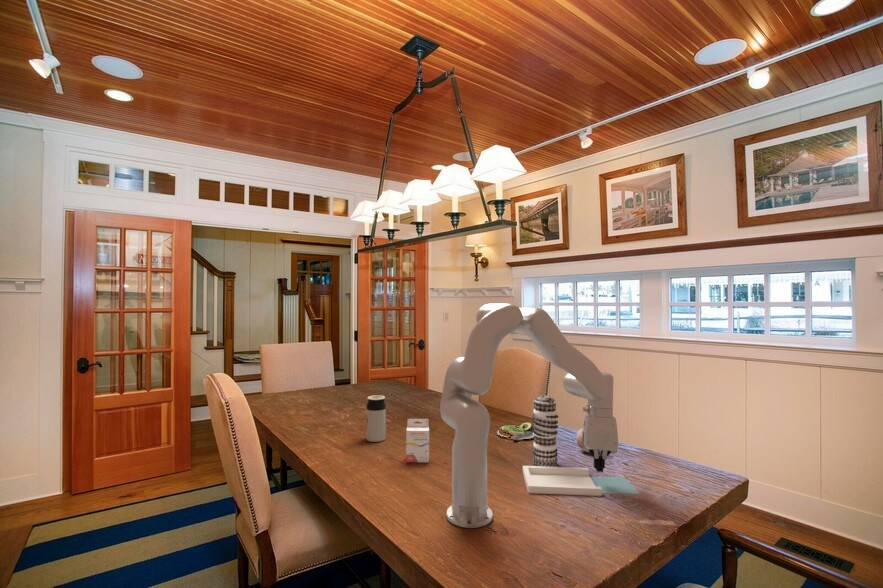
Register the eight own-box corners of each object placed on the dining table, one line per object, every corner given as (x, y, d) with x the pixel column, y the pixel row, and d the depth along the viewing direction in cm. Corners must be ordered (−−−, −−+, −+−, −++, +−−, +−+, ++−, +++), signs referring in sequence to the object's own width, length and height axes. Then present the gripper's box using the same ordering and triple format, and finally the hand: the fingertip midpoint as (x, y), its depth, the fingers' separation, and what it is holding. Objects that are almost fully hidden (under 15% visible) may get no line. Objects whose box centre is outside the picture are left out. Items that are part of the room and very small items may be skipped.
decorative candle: (558, 464, 153) (558, 394, 154) (558, 474, 144) (558, 400, 145) (532, 461, 156) (532, 393, 156) (531, 471, 147) (531, 398, 147)
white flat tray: (602, 499, 126) (601, 488, 126) (528, 496, 128) (528, 486, 128) (587, 476, 142) (587, 467, 142) (522, 474, 144) (522, 465, 144)
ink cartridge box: (405, 462, 154) (405, 422, 155) (406, 457, 159) (406, 418, 160) (429, 462, 155) (429, 422, 155) (429, 457, 160) (429, 418, 160)
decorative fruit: (598, 457, 161) (598, 430, 161) (576, 454, 163) (575, 428, 164) (598, 449, 170) (597, 423, 170) (576, 446, 172) (576, 421, 172)
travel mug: (387, 436, 184) (387, 395, 185) (383, 442, 176) (383, 399, 177) (369, 436, 185) (369, 394, 186) (364, 442, 177) (364, 398, 178)
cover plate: (639, 498, 127) (639, 493, 128) (602, 498, 128) (602, 493, 128) (624, 482, 139) (624, 477, 140) (590, 481, 140) (590, 476, 140)
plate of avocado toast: (532, 446, 174) (532, 434, 174) (491, 440, 182) (491, 429, 182) (542, 432, 192) (542, 422, 192) (503, 428, 199) (503, 418, 199)
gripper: (578, 413, 131) (577, 473, 131) (628, 416, 130) (627, 476, 129) (573, 407, 139) (572, 464, 138) (620, 410, 137) (619, 467, 137)
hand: (599, 470), depth 134 cm, fingers closed
